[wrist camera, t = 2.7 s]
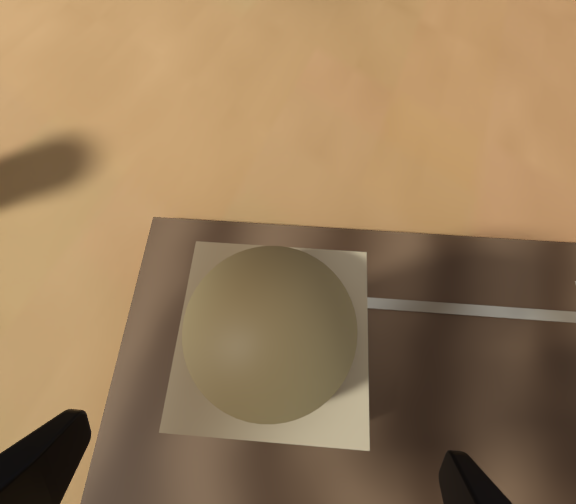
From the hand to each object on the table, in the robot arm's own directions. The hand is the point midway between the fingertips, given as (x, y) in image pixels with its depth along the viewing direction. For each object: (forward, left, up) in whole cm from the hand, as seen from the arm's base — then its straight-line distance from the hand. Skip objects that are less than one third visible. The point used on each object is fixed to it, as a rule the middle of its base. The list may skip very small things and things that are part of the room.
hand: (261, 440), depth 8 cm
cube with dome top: (+2, -2, -9) cm, 9 cm away
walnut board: (-3, -8, -10) cm, 13 cm away
